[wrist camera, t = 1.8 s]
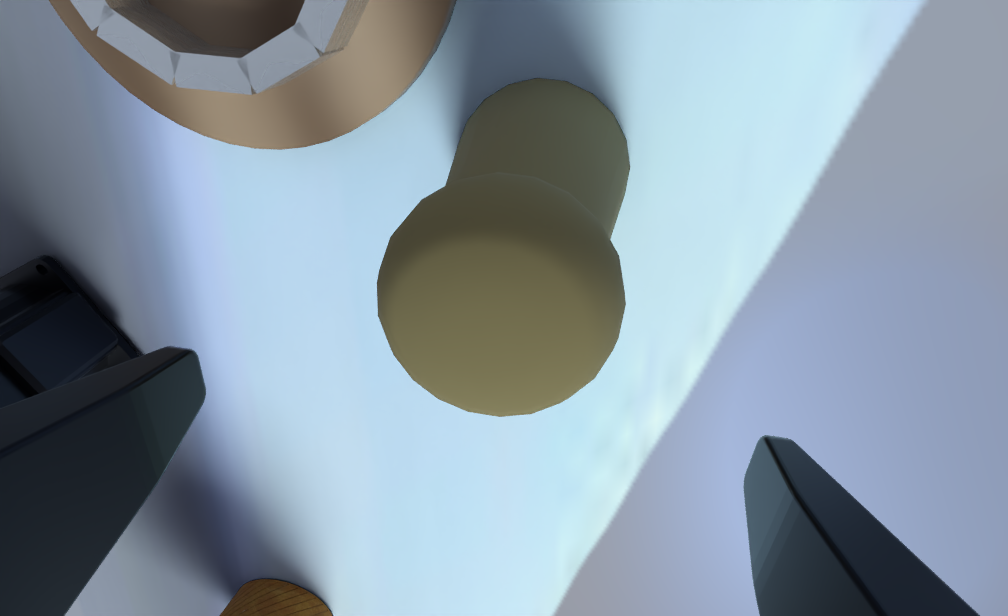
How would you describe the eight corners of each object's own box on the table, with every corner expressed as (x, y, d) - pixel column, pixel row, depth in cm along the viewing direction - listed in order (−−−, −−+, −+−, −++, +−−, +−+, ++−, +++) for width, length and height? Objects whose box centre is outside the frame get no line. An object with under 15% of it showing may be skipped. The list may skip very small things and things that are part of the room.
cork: (427, 118, 20) (272, 248, 11) (598, 47, 18) (590, 132, 9) (495, 269, 23) (417, 483, 13) (651, 221, 21) (688, 430, 11)
